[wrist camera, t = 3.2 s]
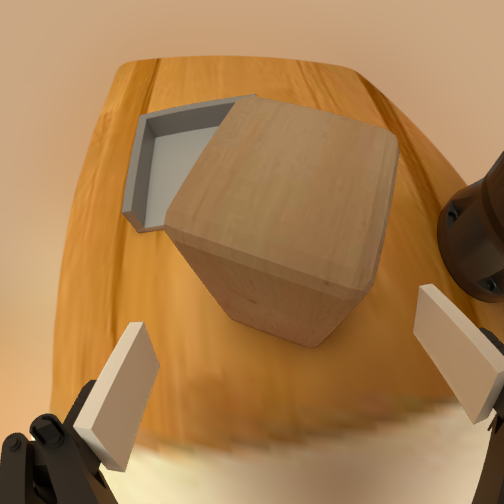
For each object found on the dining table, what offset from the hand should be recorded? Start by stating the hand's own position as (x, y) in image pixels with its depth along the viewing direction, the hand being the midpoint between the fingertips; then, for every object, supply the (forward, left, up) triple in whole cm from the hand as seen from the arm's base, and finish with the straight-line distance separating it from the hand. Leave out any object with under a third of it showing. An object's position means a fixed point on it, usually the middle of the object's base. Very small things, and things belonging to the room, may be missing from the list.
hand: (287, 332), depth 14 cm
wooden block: (-3, -6, -17) cm, 19 cm away
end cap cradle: (+1, -25, -17) cm, 31 cm away
